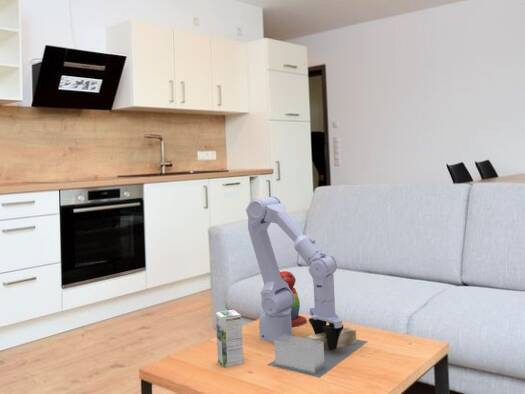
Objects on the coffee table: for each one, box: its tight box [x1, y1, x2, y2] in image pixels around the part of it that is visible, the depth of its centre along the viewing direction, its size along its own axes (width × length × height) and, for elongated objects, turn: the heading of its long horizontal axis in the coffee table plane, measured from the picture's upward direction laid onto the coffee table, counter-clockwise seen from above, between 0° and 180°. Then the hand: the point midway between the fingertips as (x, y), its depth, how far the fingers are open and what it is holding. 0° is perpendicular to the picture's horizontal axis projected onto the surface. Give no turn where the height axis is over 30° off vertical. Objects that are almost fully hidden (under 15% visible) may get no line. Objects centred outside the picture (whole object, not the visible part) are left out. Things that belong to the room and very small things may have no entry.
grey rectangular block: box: [273, 335, 325, 374], centre depth 131 cm, size 12×5×7 cm, turn 54°
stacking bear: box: [275, 270, 308, 328], centre depth 170 cm, size 11×10×18 cm
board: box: [267, 338, 368, 378], centre depth 140 cm, size 16×28×1 cm, turn 144°
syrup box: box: [215, 309, 244, 369], centre depth 137 cm, size 6×6×14 cm
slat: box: [301, 326, 357, 351], centre depth 143 cm, size 18×3×4 cm, turn 114°
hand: (326, 345), depth 143 cm, fingers open, 6 cm apart
